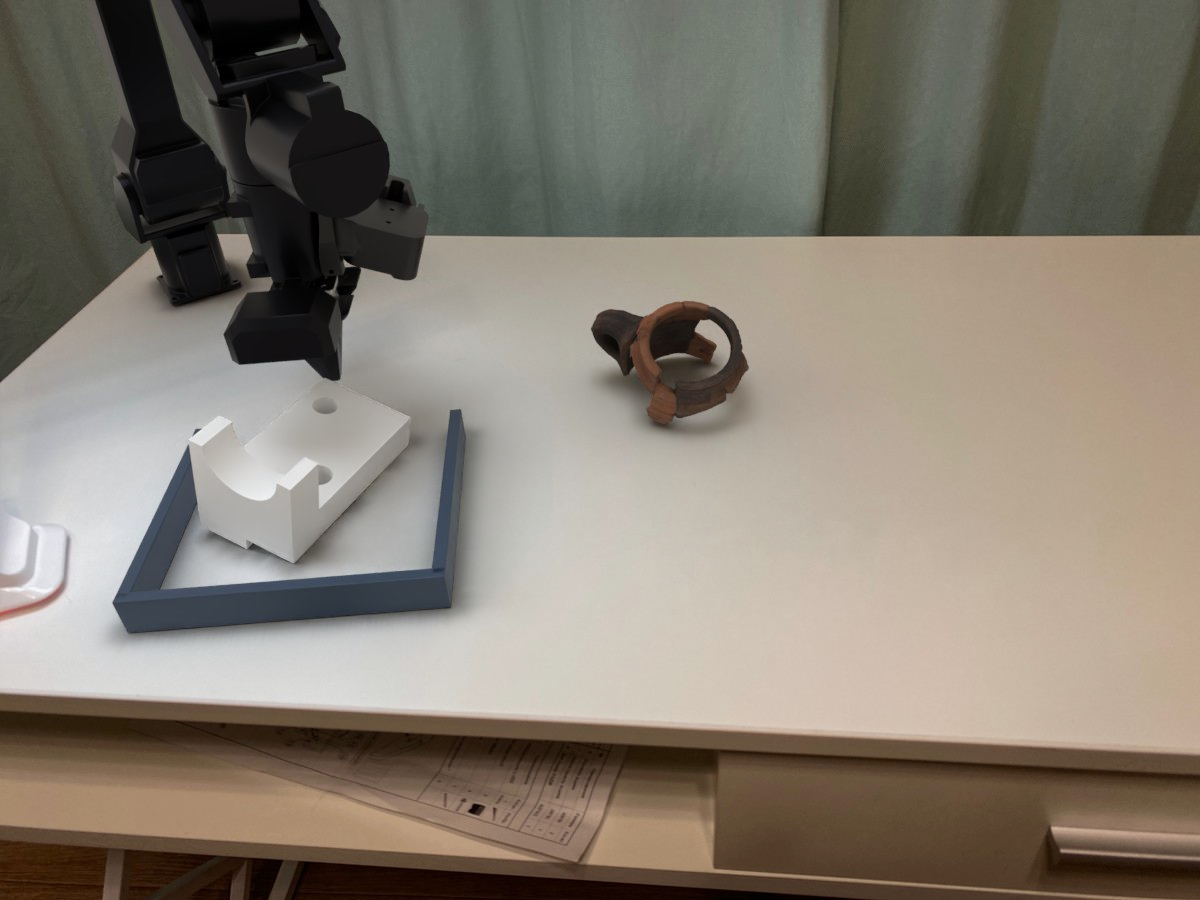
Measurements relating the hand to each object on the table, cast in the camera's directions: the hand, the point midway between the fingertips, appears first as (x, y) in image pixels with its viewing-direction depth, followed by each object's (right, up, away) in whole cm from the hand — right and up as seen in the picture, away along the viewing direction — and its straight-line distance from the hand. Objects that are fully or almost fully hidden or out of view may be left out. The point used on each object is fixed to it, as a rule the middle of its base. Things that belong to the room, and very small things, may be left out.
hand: (333, 378), depth 68 cm
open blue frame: (+1, -10, -7) cm, 12 cm away
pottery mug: (+24, -1, +3) cm, 25 cm away
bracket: (+1, -8, -4) cm, 9 cm away
